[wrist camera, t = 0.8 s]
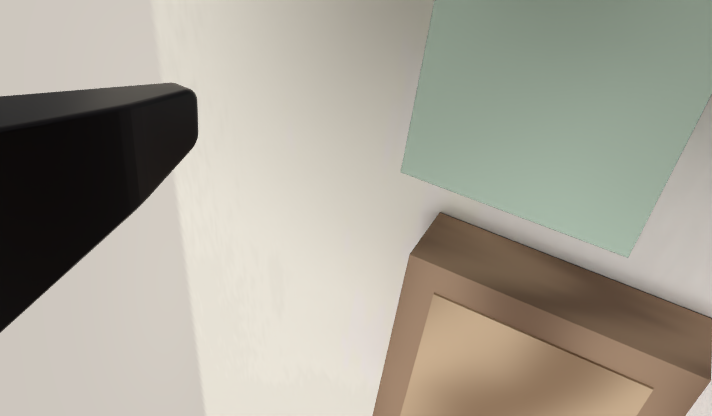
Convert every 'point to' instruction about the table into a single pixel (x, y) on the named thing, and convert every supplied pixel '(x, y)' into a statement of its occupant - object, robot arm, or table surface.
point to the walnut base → (533, 337)
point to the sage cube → (561, 107)
